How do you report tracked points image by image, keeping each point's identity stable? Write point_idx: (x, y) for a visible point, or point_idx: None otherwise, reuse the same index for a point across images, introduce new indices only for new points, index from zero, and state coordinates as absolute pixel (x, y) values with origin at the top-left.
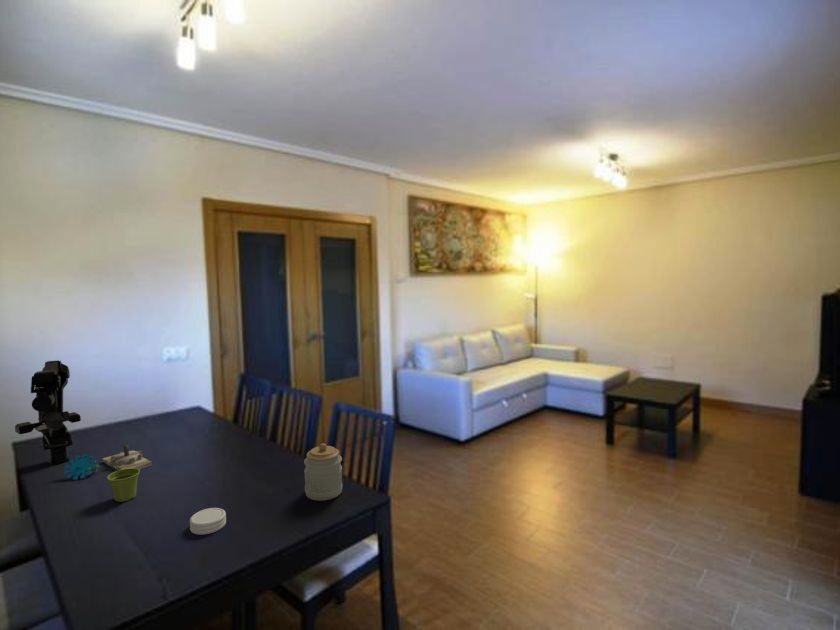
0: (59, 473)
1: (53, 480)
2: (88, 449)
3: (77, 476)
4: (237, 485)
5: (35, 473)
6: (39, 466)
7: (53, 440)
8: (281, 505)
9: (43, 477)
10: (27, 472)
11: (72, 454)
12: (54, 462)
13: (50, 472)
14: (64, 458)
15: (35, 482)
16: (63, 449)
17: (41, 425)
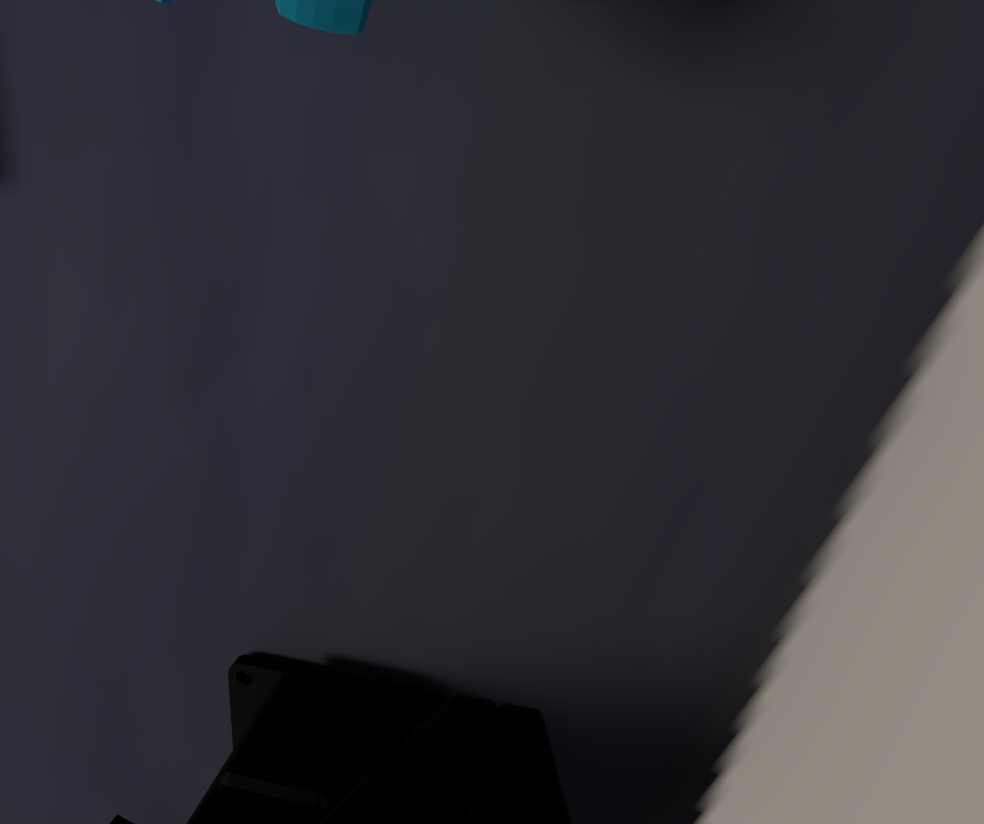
0: (517, 315)
1: (717, 65)
2: (16, 785)
3: None
4: None
5: (698, 633)
6: None
7: (373, 782)
8: None
9: (725, 375)
10: (731, 754)
11: (177, 805)
12: (405, 735)
13: (572, 482)
14: (292, 691)
15: (908, 269)
16: (225, 819)
17: None
